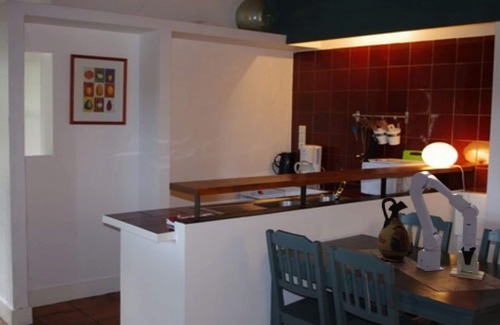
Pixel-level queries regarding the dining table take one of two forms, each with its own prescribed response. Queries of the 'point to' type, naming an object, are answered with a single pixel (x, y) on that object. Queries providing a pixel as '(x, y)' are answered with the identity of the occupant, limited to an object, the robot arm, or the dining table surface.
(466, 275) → the hinge bracket
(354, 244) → the dining table surface
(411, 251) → the ammunition clip
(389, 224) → the ceramic jug
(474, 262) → the door
